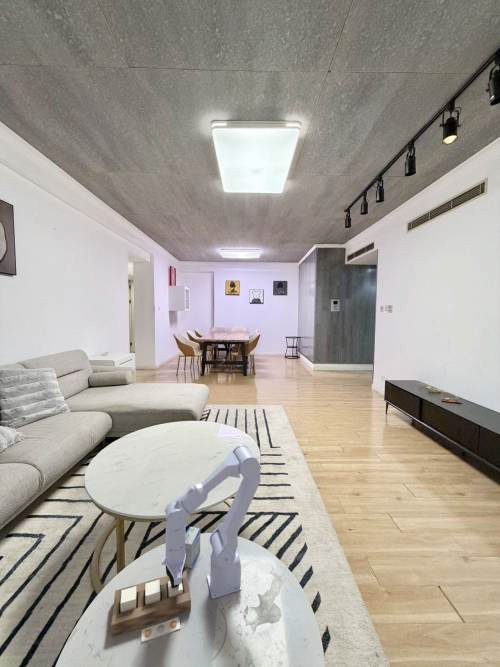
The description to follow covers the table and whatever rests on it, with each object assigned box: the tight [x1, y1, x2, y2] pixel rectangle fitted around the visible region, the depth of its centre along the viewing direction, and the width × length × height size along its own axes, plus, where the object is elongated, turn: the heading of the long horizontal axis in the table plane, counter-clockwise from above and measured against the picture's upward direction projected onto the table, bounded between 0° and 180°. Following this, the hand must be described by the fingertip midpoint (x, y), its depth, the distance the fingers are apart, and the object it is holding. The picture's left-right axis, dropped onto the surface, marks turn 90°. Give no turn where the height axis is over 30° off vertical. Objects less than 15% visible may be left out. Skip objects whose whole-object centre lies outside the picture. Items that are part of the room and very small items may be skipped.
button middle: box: [145, 580, 160, 606], centre depth 84 cm, size 4×4×3 cm
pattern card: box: [140, 616, 181, 643], centre depth 78 cm, size 10×3×1 cm, turn 110°
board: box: [110, 570, 192, 638], centre depth 84 cm, size 21×10×3 cm, turn 110°
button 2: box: [168, 581, 183, 598], centre depth 86 cm, size 4×4×3 cm
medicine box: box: [185, 526, 201, 569], centre depth 100 cm, size 8×4×9 cm, turn 168°
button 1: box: [121, 586, 136, 613], centre depth 81 cm, size 4×4×3 cm
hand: (175, 585), depth 86 cm, fingers closed, pressing on button 2
